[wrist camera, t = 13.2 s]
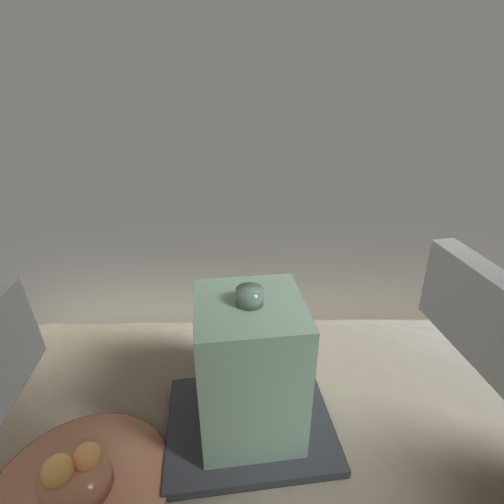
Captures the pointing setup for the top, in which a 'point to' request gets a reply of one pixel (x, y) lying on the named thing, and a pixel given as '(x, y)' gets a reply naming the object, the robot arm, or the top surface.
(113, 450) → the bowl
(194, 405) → the mat
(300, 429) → the cover
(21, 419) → the top surface
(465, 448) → the top surface
